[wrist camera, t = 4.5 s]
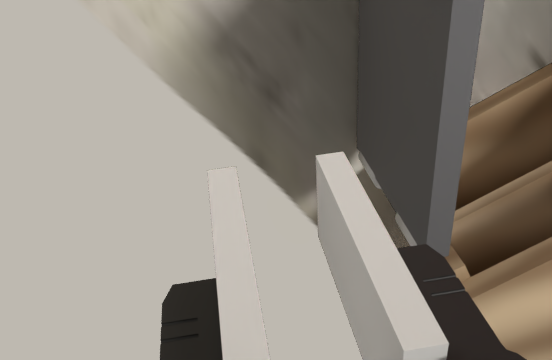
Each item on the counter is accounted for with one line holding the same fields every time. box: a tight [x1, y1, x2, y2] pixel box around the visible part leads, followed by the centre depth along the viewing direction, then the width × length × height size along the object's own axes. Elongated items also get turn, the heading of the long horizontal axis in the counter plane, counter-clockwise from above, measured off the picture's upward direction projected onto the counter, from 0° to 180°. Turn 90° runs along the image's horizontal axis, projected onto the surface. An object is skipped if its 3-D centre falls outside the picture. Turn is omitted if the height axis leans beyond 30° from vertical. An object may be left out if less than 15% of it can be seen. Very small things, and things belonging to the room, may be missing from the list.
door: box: [357, 0, 484, 257], centre depth 26 cm, size 3×16×12 cm, turn 4°
